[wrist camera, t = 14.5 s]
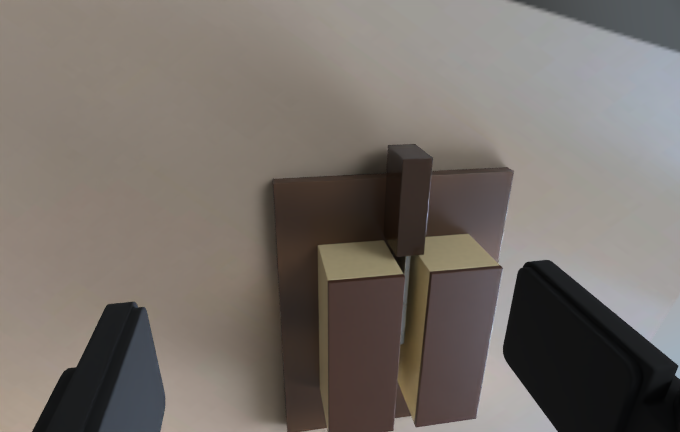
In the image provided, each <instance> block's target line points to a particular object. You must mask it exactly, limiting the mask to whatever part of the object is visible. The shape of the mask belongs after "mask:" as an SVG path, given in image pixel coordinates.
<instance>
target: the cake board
mask: <svg viewBox="0 0 680 432" xmlns="http://www.w3.org/2000/svg"><path fill="white" fill-rule="evenodd" d="M386 174H387V173H383V174H363V175H343V176H323V177H303V178H283V179H273V192H274V209H275V227H276V244H277V262H278V279H279V297H280V314H281V332H282V349H283V367H284V384H285V402H286V419H287V432H301V431H308V430H315V429H322V428H327V425H326V420H325V414H324V408H323V403H322V397H321V391H320V366H319V300H318V245H327V244H340V243H353V242H367V241H380V240H384V242H385V243H386V245H387V247H388V248H389V250H390V252H391V254H392V255H393V250H392V248H391V247H390V245H389V243H388V242H387V240H386V238H385V237H384V235H383V234H384V214H385V194H386ZM513 174H514V171H513V170H511V169H509V168H508V167H504V168H484V169H463V170H443V171H432V173H431V184H430V195H429V206H428V216H427V227H426V237H432V236H446V235H459V234H469V235H470V236H471V237H472V238H473V239H474V240H475V241H476V242H477V243H478V244H479V245H480V246H481V247H482V248H483V249H484V250H485V251H486V252H487V253H488V254H489V255H490V256H491V257H492V258H493V259H494V260H495V261H496V262H497V263H498V261H499V255H500V249H501V244H502V238H503V232H504V226H505V220H506V214H507V209H508V203H509V197H510V191H511V185H512V180H513ZM407 416H411V414H410V411H409V409H408V406H407V404H406V401H405V399H404V396H403V394H402V391H401V388H400V386H399V383H398V381H397V391H396V404H395V417H394V418H400V417H407Z"/></svg>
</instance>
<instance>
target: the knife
mask: <svg viewBox="0 0 680 432" xmlns="http://www.w3.org/2000/svg"><path fill="white" fill-rule="evenodd" d="M432 163H433V158H432V157H431V156H430V155H429V154H427V153H426V152H425V151H423V150H422V149H421V148H420V147H418V146H417V145H416V144H403V145H388V154H387V174H386V194H385V214H384V234H383V235H384V237H385V238H386V240H387V242H388V243H389V245H390V247H391V248H392V250H393V257H394V259H395V260H396V262H397V264H398V266H399V267H400V269H401V271H402V272H403V274H404V276H405V287H404V300H403V313H402V326H401V339H400V345H401V344H404V337H405V324H406V311H407V299H408V286H409V274H410V261H411V256H416V255H424V249H425V238H426V227H427V216H428V206H429V195H430V184H431V173H432Z"/></svg>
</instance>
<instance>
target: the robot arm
mask: <svg viewBox="0 0 680 432" xmlns="http://www.w3.org/2000/svg"><path fill="white" fill-rule="evenodd" d="M503 354H504V358H505V360H506V362H507V363H508V365H509V366H510V367H511V369H512V370H513V371H514V373H515V374H516V375H517V377H518V378H519V380H520V381H521V382H522V384H523V385H524V386H525V388H526V389H527V390H528V392H529V393H530V394H531V396H532V397H533V399H534V400H535V401H536V403H537V404H538V405H539V407H540V408H541V409H542V411H543V412H544V413H545V415H546V416H547V418H548V419H549V420H550V422H551V423H552V424H553V426H554V427H555V428H556V430H557V431H558V432H680V379H679V378H677V377H676V376H675V373H676V371H677V368H678V365H677V364H676V363H674V362H673V361H672V360H671V359H669V358H668V357H667V356H666V355H665V354H663V353H662V352H661V351H660V350H659V349H657V348H656V347H655V346H654V345H653V344H651V343H650V342H649V341H648V340H646V339H645V338H644V337H643V336H642V335H640V334H639V333H638V332H637V331H636V330H634V329H633V328H632V327H631V326H629V325H628V324H627V323H626V322H625V321H623V320H622V319H621V318H620V317H619V316H617V315H616V314H615V313H614V312H612V311H611V310H610V309H609V308H608V307H606V306H605V305H604V304H603V303H602V302H600V301H599V300H598V299H597V298H595V297H594V296H593V295H592V294H591V293H589V292H588V291H587V290H586V289H585V288H583V287H582V286H581V285H580V284H578V283H577V282H576V281H575V280H574V279H572V278H571V277H570V276H569V275H568V274H566V273H565V272H564V271H563V270H561V269H560V268H559V267H558V266H557V265H555V264H554V263H553V262H551V261H550V260H542V261H532V262H527V263H525V264H524V266H523V268H521V269H520V270H519V271H518V274H517V279H516V284H515V289H514V294H513V299H512V304H511V309H510V314H509V320H508V325H507V330H506V335H505V340H504V345H503ZM164 411H165V392H164V388H163V383H162V379H161V374H160V369H159V365H158V360H157V356H156V351H155V347H154V342H153V337H152V333H151V328H150V324H149V319H148V314H147V311H146V308H145V307H139V308H138V306H137V304H136V303H135V302H126V303H116V304H108V305H107V306H106V307H105V309H104V311H103V313H102V316H101V318H100V320H99V322H98V324H97V326H96V328H95V330H94V332H93V334H92V336H91V338H90V340H89V343H88V345H87V347H86V349H85V351H84V353H83V355H82V357H81V359H80V361H79V363H78V365H77V367H75V368H68V369H67V370H65V371H64V372H63V374H62V375H61V377H60V379H59V381H58V383H57V384H56V386H55V388H54V390H53V392H52V394H51V396H50V398H49V400H48V402H47V404H46V406H45V408H44V410H43V412H42V414H41V416H40V418H39V420H38V421H37V423H36V425H35V427H34V429H33V431H32V432H160V430H161V425H162V420H163V416H164Z"/></svg>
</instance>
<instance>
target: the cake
mask: <svg viewBox="0 0 680 432" xmlns="http://www.w3.org/2000/svg"><path fill="white" fill-rule="evenodd" d="M502 270H503V268H502V267H501V266H500V265H499V264H498V263H497V262H496V261H495V260H494V259H493V258H492V257H491V256H490V255H489V254H488V253H487V252H486V251H485V250H484V249H483V248H482V247H481V246H480V245H479V244H478V243H477V242H476V241H475V240H474V239H473V238H472V237H471V236H470V235H469V234H459V235H446V236H432V237H426V238H425V249H424V255H416V256H411V261H410V274H409V286H408V299H407V311H406V324H405V337H404V344H401V345H400V339H401V326H402V313H403V300H404V287H405V276H404V274H403V272H402V271H401V269H400V267H399V266H398V264H397V262H396V260H395V259H394V257H393V255H392V254H391V252H390V250H389V248H388V247H387V245H386V243H385V242H384V240H380V241H367V242H353V243H340V244H327V245H318V300H319V366H320V391H321V397H322V403H323V408H324V414H325V420H326V425H327V431H328V432H388V431H393V430H394V417H395V404H396V391H397V381H398V383H399V386H400V388H401V391H402V394H403V396H404V399H405V401H406V404H407V406H408V409H409V411H410V414H411V416H412V419H413V421H414V424H415V426H416V427H422V426H429V425H435V424H442V423H449V422H456V421H463V420H470V419H476V416H477V411H478V405H479V400H480V394H481V388H482V383H483V377H484V371H485V366H486V360H487V355H488V349H489V343H490V338H491V332H492V326H493V321H494V315H495V310H496V304H497V298H498V293H499V287H500V281H501V276H502Z"/></svg>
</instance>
